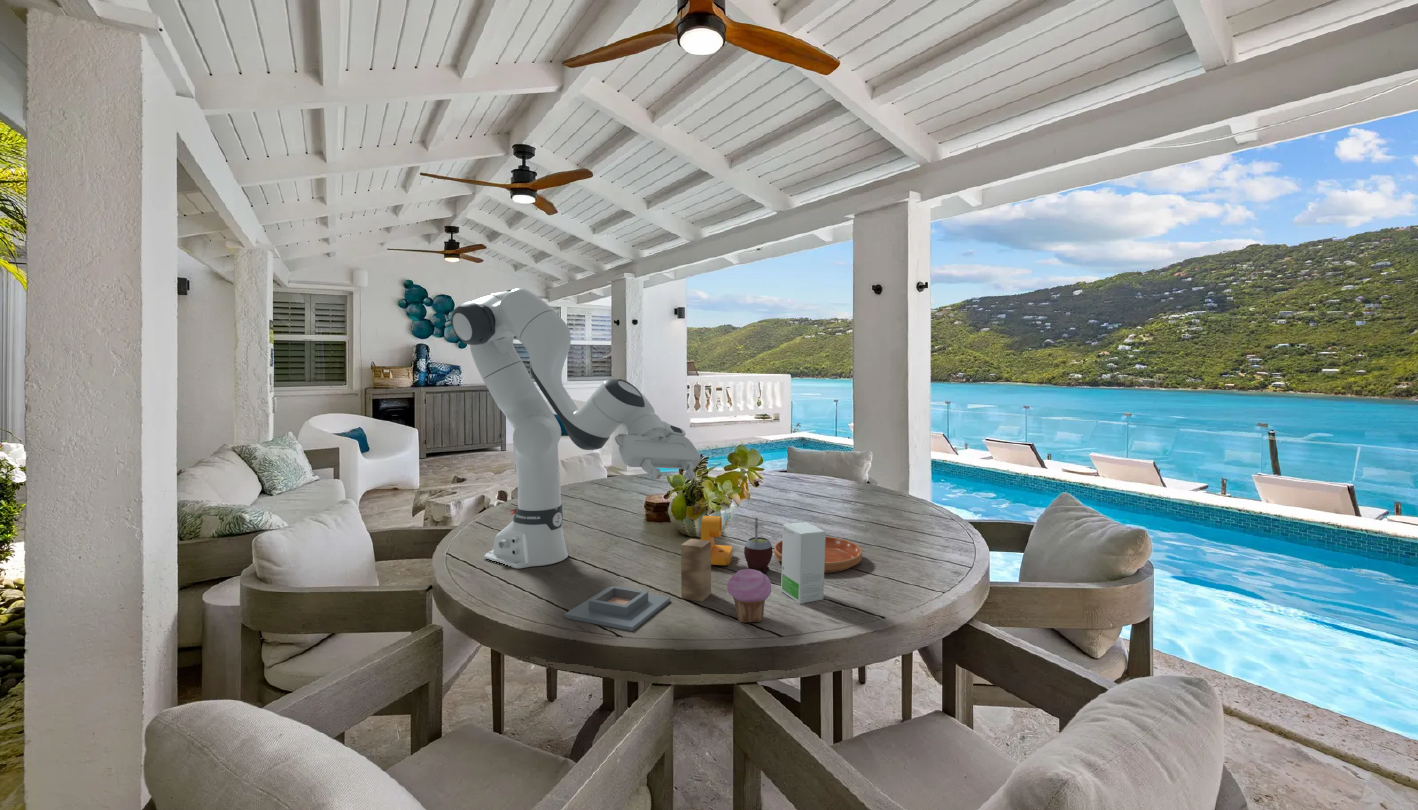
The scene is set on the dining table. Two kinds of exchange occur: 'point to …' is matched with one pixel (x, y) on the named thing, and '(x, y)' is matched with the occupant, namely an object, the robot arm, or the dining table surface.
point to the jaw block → (696, 569)
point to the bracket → (708, 531)
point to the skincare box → (803, 562)
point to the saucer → (834, 554)
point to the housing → (618, 608)
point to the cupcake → (749, 594)
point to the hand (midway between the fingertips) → (675, 477)
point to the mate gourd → (758, 552)
